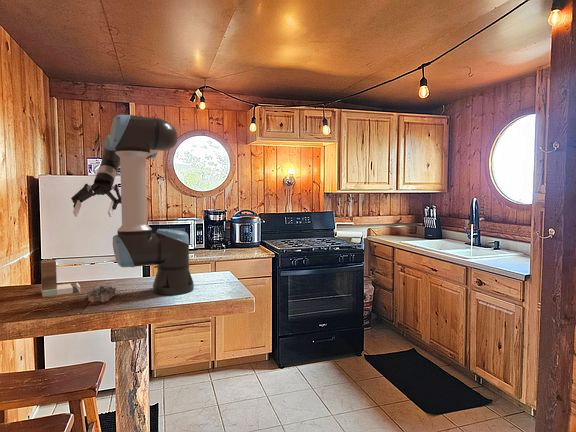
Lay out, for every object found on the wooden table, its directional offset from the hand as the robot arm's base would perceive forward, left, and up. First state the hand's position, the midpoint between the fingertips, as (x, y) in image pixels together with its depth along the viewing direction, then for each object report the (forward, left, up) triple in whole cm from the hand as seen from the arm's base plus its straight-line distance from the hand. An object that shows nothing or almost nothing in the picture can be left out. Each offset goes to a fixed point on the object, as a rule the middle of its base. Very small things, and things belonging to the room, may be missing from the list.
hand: (92, 214), depth 161 cm
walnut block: (-11, +17, -26) cm, 33 cm away
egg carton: (-27, +2, -28) cm, 39 cm away
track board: (-11, +13, -28) cm, 33 cm away
